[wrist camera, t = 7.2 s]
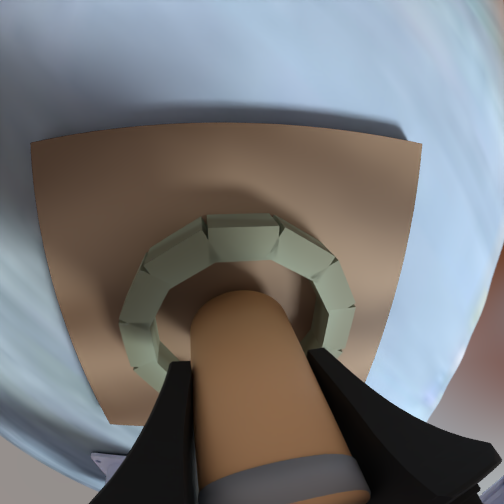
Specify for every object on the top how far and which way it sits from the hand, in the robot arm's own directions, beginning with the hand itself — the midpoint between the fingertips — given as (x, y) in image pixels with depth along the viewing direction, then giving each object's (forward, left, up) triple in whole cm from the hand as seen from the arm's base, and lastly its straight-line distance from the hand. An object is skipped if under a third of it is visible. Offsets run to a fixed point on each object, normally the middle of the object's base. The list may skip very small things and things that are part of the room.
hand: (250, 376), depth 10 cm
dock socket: (0, 0, -4) cm, 4 cm away
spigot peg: (0, 0, -2) cm, 2 cm away
